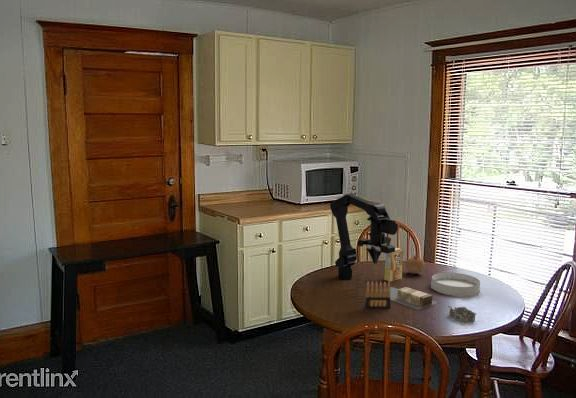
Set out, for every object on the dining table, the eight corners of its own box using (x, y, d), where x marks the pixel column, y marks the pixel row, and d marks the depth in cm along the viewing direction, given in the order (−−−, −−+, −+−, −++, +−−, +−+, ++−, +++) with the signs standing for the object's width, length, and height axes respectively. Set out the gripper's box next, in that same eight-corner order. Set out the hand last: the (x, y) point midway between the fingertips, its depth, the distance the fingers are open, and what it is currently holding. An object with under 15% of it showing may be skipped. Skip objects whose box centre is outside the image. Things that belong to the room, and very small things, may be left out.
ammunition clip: (389, 307, 224) (390, 280, 222) (390, 309, 222) (391, 281, 220) (364, 307, 224) (365, 280, 222) (365, 308, 222) (366, 281, 220)
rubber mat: (371, 293, 240) (371, 292, 240) (391, 287, 249) (391, 286, 249) (418, 310, 220) (418, 309, 220) (438, 303, 229) (438, 302, 229)
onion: (426, 277, 266) (427, 257, 264) (407, 276, 266) (408, 257, 264) (421, 271, 275) (422, 252, 274) (403, 271, 275) (404, 252, 274)
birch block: (397, 289, 233) (423, 298, 222) (406, 286, 237) (432, 295, 226) (397, 298, 234) (423, 307, 223) (406, 295, 238) (431, 304, 227)
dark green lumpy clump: (446, 314, 217) (446, 305, 217) (462, 312, 219) (462, 303, 219) (461, 324, 207) (462, 314, 206) (478, 322, 209) (478, 312, 209)
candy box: (395, 277, 265) (396, 247, 263) (402, 279, 262) (403, 249, 260) (383, 280, 260) (385, 250, 257) (390, 282, 257) (391, 252, 254)
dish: (482, 286, 254) (482, 276, 253) (477, 300, 234) (478, 289, 233) (435, 279, 263) (435, 270, 262) (426, 293, 243) (427, 282, 242)
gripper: (403, 232, 242) (402, 265, 244) (373, 225, 256) (371, 256, 258) (387, 235, 235) (386, 269, 237) (357, 228, 249) (356, 260, 252)
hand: (375, 263), depth 246 cm, fingers closed
